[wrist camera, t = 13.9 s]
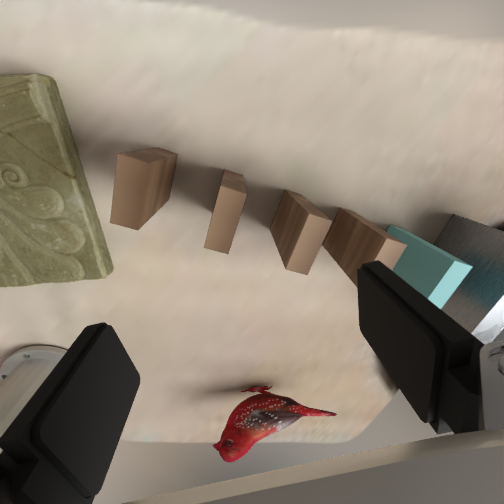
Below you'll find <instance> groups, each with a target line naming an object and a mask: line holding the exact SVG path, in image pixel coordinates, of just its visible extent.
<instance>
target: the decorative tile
mask: <svg viewBox="0 0 504 504" xmlns="http://www.w3.org/2000/svg"><path fill="white" fill-rule="evenodd" d="M113 270H114V267H113V263H112V260H111V257H110V253H109V251H108V247H107V244H106V241H105V237H104V234H103V231H102V228H101V225H100V221H99V218H98V215H97V212H96V209H95V205H94V202H93V199H92V196H91V193H90V190H89V186H88V183H87V180H86V177H85V174H84V170H83V167H82V164H81V161H80V158H79V154H78V151H77V148H76V145H75V142H74V138H73V135H72V132H71V129H70V126H69V122H68V119H67V116H66V113H65V110H64V106H63V103H62V100H61V97H60V94H59V90H58V87H57V84H56V81H55V80H54V79H53V78H52V77H49V76H44V75H41V74H11V75H0V287H20V286H29V285H34V284H41V283H51V282H53V283H63V282H74V281H80V280H94V279H103V278H106V277H107V276H108V275H109V274H110V273H112V272H113Z"/></svg>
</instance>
